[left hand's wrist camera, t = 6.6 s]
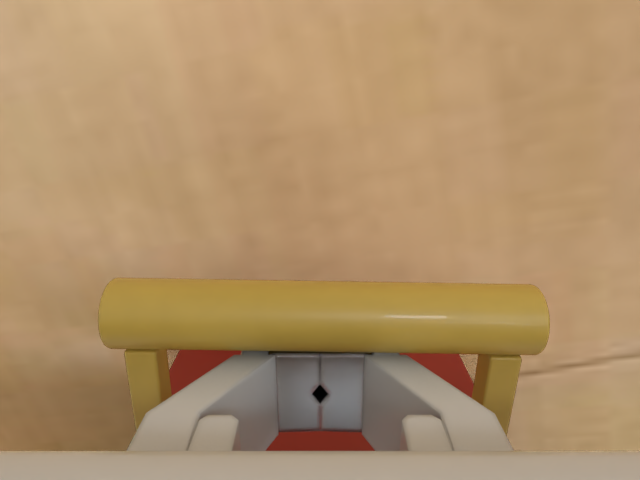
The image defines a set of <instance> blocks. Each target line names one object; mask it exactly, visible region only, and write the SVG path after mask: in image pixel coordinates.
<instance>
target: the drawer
mask: <svg viewBox="0 0 640 480" xmlns="http://www.w3.org/2000/svg"><path fill="white" fill-rule="evenodd" d="M98 328H99V334H100V337H101V340H102V342H103V343H104V345H105V346H106V347H108V348H111V349H126V350H125V352H124V356H125V363H126V370H127V376H128V383H129V389H130V396H131V402H132V409H133V416H134V422H135V429H136V431H137V429H138V427H139V425H140V424H141V422H142V420H143V418H144V416H145V414H146V413H147V412H148V411H150V410H151V409H153V408H154V407H156V406H157V405H159V404H160V403H162V402H163V401H165V400H166V399H168V398H169V397H171V396H172V395H174V394H175V393H177V392H179V391H180V390H182V389H183V388H185V387H186V386H188V385H189V384H191V383H192V382H194V381H195V380H197V379H198V378H200V377H201V376H203V375H204V374H206V373H207V372H209V371H210V370H212V369H213V368H215V367H216V366H218V365H219V364H221V363H222V362H224V361H225V360H227V359H228V358H230V357H231V356H233V355H241V351H295V352H361V353H399V354H400V355H407V356H409V357H410V358H412V359H413V360H415V361H416V362H418V363H419V364H421V365H422V366H424V367H425V368H427V369H428V370H430V371H431V372H433V373H434V374H436V375H437V376H439V377H440V378H442V379H443V380H445V381H446V382H448V383H449V384H451V385H452V386H454V387H455V388H457V389H458V390H460V391H461V392H463V393H464V394H466V395H467V396H469V397H470V398H472V399H474V400H475V401H477V402H478V403H480V404H481V405H483V406H484V407H486V408H487V409H489V410H490V411H492V412H493V413H495V415H496V417H497V419H498V421H499V423H500V425H501V427H502V429H503V430H504V432H505V434H506V436H507V431H508V426H509V421H510V416H511V411H512V406H513V401H514V396H515V391H516V386H517V381H518V376H519V371H520V366H521V361H522V359H521V357H520V355H537V354H539V353H541V352H542V351H543V350H544V348H545V346H546V344H547V341H548V338H549V331H550V318H549V311H548V306H547V303H546V300H545V298H544V296H543V294H542V292H541V291H540V290H539V289H538V288H537V287H536V286H534V285H531V284H476V283H413V282H351V281H288V280H226V279H164V278H115V279H113V280H111V281H110V282H109V283H108V284H107V286H106V288H105V289H104V292H103V294H102V297H101V301H100V305H99V312H98ZM167 350H180V351H179V353H178V355H177V357H176V359H175V360H174V362H173V364H172V366H171V368H170V370H169V367H168V358H167ZM459 354H479V355H478V362H477V368H476V374H475V380H474V384H473V382H472V380H471V378H470V376H469V374H468V372H467V370H466V368H465V366H464V364H463V362H462V360H461V357H460V355H459ZM265 451H375V450H374V449H373V447H372V446H371V445H370V444H369V443H368V441H367V440H366V439H365V438H364V436H363V435H362V432H332V431H307V432H278V436H277V437H276V438H275V439H274V441H273V442H272V443H271V444H270V446H269V447H268V448H267V449H266V450H265Z"/></svg>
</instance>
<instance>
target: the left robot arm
mask: <svg viewBox="0 0 640 480" xmlns="http://www.w3.org/2000/svg"><path fill="white" fill-rule="evenodd" d="M307 431H332V432H362V435H363V436H364V438H365V439H366V440H367V441H368V443H369V444H370V445H371V446H372V447H373V449H374V450H375V451H265V450H266V449H267V448H268V447H269V446H270V444H271V443H272V442H273V441H274V439H275V438H276V437H277V436H278V432H307ZM0 480H640V451H514V450H513V448H512V446H511V444H510V442H509V440H508V438H507V436H506V434H505V432H504V430H503V429H502V427H501V425H500V423H499V421H498V419H497V417H496V415H495V413H493V412H492V411H490V410H489V409H487V408H486V407H484V406H483V405H481V404H480V403H478V402H477V401H475V400H474V399H472V398H470V397H469V396H467V395H466V394H464V393H463V392H461V391H460V390H458V389H457V388H455V387H454V386H452V385H451V384H449V383H448V382H446V381H445V380H443V379H442V378H440V377H439V376H437V375H436V374H434V373H433V372H431V371H430V370H428V369H427V368H425V367H424V366H422V365H421V364H419V363H418V362H416V361H415V360H413V359H412V358H410V357H409V356H407V355H400V354H399V353H361V352H295V351H241V355H233V356H231V357H230V358H228V359H227V360H225V361H224V362H222V363H221V364H219V365H218V366H216V367H215V368H213V369H212V370H210V371H209V372H207V373H206V374H204V375H203V376H201V377H200V378H198V379H197V380H195V381H194V382H192V383H191V384H189V385H188V386H186V387H185V388H183V389H182V390H180V391H179V392H177V393H175V394H174V395H172V396H171V397H169V398H168V399H166V400H165V401H163V402H162V403H160V404H159V405H157V406H156V407H154V408H153V409H151V410H150V411H148V412H147V413H146V414H145V416H144V418H143V420H142V422H141V424H140V425H139V427H138V429H137V431H136V433H135V435H134V437H133V439H132V441H131V443H130V445H129V447H128V448H127V450H126V451H0Z"/></svg>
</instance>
